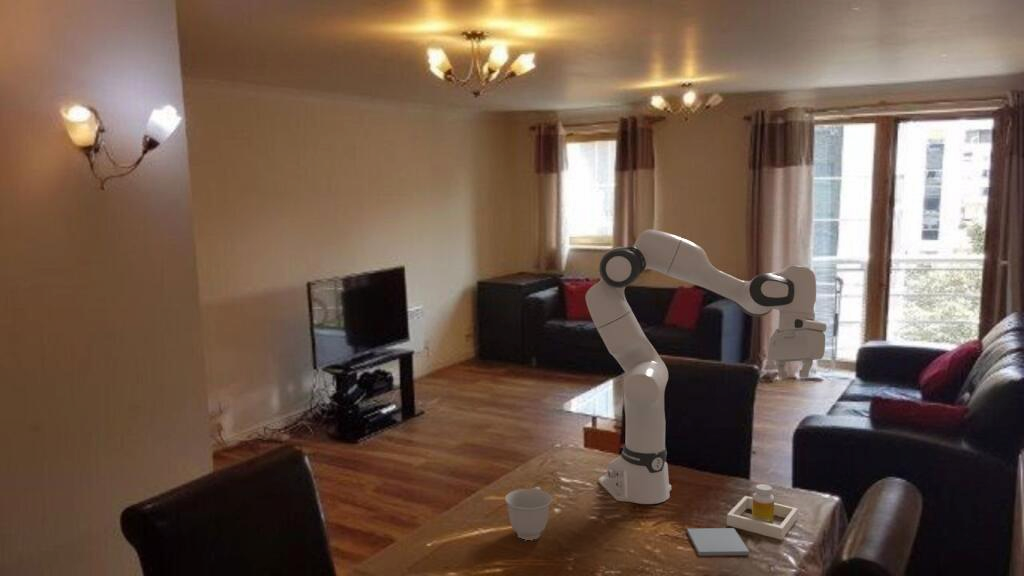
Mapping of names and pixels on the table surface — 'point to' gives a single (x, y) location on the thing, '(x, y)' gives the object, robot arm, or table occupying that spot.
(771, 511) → the supplement bottle
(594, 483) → the table surface
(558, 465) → the table surface
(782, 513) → the bin
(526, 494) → the teacup
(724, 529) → the pad
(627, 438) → the robot arm
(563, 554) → the table surface
